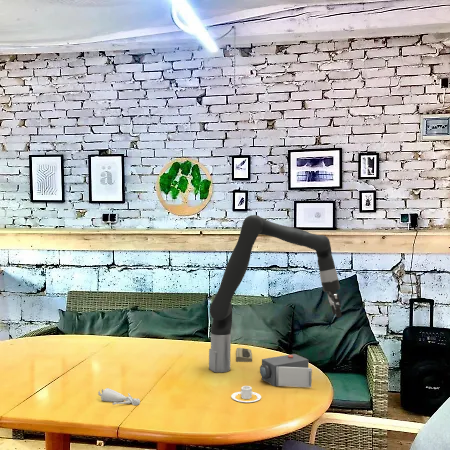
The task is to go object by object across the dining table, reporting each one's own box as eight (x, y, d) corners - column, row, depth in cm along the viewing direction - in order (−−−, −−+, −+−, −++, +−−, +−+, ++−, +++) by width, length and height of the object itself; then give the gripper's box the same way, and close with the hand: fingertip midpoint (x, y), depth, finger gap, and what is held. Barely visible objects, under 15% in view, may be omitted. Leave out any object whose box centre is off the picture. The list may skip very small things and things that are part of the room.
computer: (252, 362, 248) (252, 356, 248) (235, 362, 248) (236, 355, 248) (251, 353, 264) (251, 347, 264) (236, 353, 264) (236, 347, 264)
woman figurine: (109, 382, 205) (147, 391, 199) (108, 393, 205) (146, 402, 199) (91, 392, 194) (131, 402, 188) (90, 403, 194) (131, 414, 188)
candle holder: (252, 406, 194) (252, 395, 194) (225, 399, 200) (225, 389, 200) (266, 396, 204) (266, 386, 204) (240, 390, 210) (240, 380, 210)
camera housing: (269, 387, 213) (269, 364, 213) (256, 380, 222) (257, 358, 222) (308, 379, 223) (308, 357, 223) (294, 373, 232) (294, 352, 232)
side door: (275, 386, 213) (276, 367, 213) (275, 384, 215) (276, 366, 215) (311, 387, 212) (311, 369, 211) (311, 386, 213) (311, 367, 213)
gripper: (318, 279, 230) (326, 314, 230) (324, 283, 216) (332, 320, 216) (334, 276, 230) (342, 311, 230) (341, 279, 216) (349, 316, 216)
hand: (337, 315), depth 223 cm, fingers open, 8 cm apart
